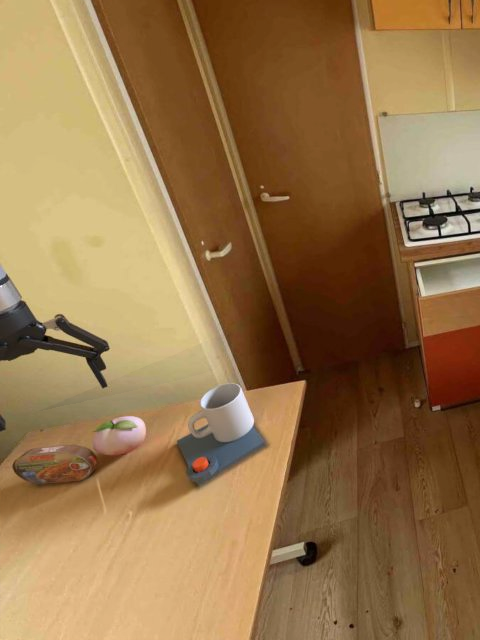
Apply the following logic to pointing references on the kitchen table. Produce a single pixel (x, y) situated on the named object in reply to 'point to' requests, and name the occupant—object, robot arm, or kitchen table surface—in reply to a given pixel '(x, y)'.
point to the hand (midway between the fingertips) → (56, 404)
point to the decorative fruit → (119, 435)
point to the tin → (55, 464)
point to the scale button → (200, 464)
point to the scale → (217, 453)
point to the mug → (224, 414)
